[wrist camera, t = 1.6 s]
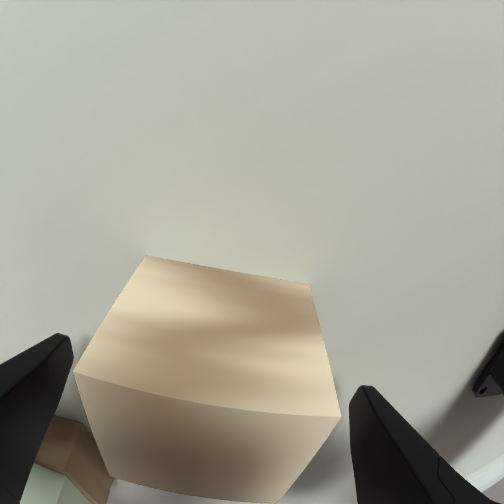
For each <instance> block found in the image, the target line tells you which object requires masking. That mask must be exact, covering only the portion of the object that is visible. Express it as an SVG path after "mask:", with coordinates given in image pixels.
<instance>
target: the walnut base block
mask: <svg viewBox="0 0 504 504" xmlns="http://www.w3.org/2000/svg"><path fill="white" fill-rule="evenodd" d="M34 463H36V464H38V465H40V466H43V467H45V468H48V469H50V470H52V471H55V472H57V473H60V474H63V475H65V476H67V477H68V479H69V480H70V481H71V482H72V483H73V484H74V485H75V486H76V487H77V488H78V490H79V491H80V492H81V493H82V494H83V495H84V496H85V497H86V498H87V499H88V500H89V501H90V502H91V503H92V504H106V502H107V498H108V495H109V491H110V488H111V484H112V481H113V477H111V476H110V475H109V473H108V470H107V468H106V466H105V463H104V461H103V458H102V456H101V454H100V451H99V449H98V446H97V444H96V443H95V441H94V440H93V438H92V437H91V435H90V434H89V432H88V431H87V429H86V427H85V426H84V424H83V423H80V422H76V421H72V420H69V419H65V418H61V417H58V416H54V415H53V417H52V420H51V422H50V424H49V427H48V429H47V431H46V434H45V436H44V439H43V441H42V444H41V446H40V449H39V451H38V454H37V456H36V459H35V461H34Z"/></svg>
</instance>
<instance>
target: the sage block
mask: <svg viewBox="0 0 504 504" xmlns="http://www.w3.org/2000/svg"><path fill="white" fill-rule="evenodd" d="M20 504H92V503H91V502H90V501H89V500H88V499H87V498H86V497H85V496H84V495H83V494H82V493H81V492H80V491H79V490H78V488H77V487H76V486H75V485H74V484H73V483H72V482H71V481H70V480H69V479H68V477H67V476H65V475H63V474H60V473H57V472H55V471H52V470H50V469H48V468H45V467H43V466H40V465H38V464H36V463H34V464H33V467H32V469H31V472H30V475H29V478H28V481H27V483H26V486H25V489H24V492H23V495H22V498H21V501H20Z"/></svg>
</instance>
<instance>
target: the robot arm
mask: <svg viewBox="0 0 504 504" xmlns="http://www.w3.org/2000/svg"><path fill="white" fill-rule="evenodd" d="M73 359H74V355H73V350H72V345H71V341H70V338H69V337H68V336H66V335H63V334H60V333H56V334H54V335H52V336H51V337H49V338H47V339H45V340H43V341H42V342H40V343H38V344H36V345H34V346H33V347H31V348H29V349H27V350H25V351H24V352H22V353H20V354H18V355H16V356H15V357H13V358H11V359H9V360H8V361H6V362H4V363H2V364H0V504H20V501H21V498H22V495H23V492H24V489H25V486H26V483H27V481H28V478H29V475H30V472H31V469H32V467H33V464H34V461H35V459H36V456H37V454H38V451H39V449H40V446H41V444H42V441H43V439H44V436H45V434H46V431H47V429H48V427H49V424H50V422H51V420H52V417H53V415H54V413H55V411H56V408H57V406H58V404H59V401H60V399H61V396H62V393H63V390H64V387H65V384H66V381H67V378H68V375H69V372H70V369H71V366H72V363H73ZM472 392H473V393H474V395H475V397H485V396H492V395H498V394H503V396H504V342H503V344H502V346H501V347H500V349H499V350H498V352H497V353H496V355H495V357H494V358H493V360H492V361H491V363H490V364H489V366H488V367H487V368H486V370H485V371H484V373H483V374H482V376H481V377H480V378H479V380H478V381H477V382H476V384H475V385H474V387H473V388H472ZM349 424H350V448H351V456H352V463H353V470H354V478H355V485H356V493H357V502H358V504H500V503H496V502H494V501H492V500H490V499H489V498H487V497H486V496H485V495H484V494H482V493H481V492H480V491H479V490H477V489H476V488H475V487H474V486H473V485H471V484H470V483H469V482H468V481H466V480H465V479H464V478H463V477H462V476H461V475H460V474H458V473H457V472H456V471H455V470H454V469H453V468H452V467H451V466H450V465H449V464H448V463H447V462H446V461H445V460H444V459H443V458H442V457H441V456H439V454H438V453H437V452H436V451H435V450H434V449H433V448H432V447H431V446H430V445H429V444H428V443H427V442H426V441H425V439H424V438H423V437H422V436H421V435H420V434H419V433H418V432H417V431H416V430H415V429H414V428H413V427H412V426H411V425H410V424H409V423H408V422H407V421H406V420H405V419H404V418H403V417H402V416H401V415H400V414H399V413H398V412H397V411H396V410H395V408H394V407H393V406H392V405H391V404H390V403H389V402H388V401H387V400H386V399H385V398H384V397H383V396H382V395H381V394H380V393H379V392H378V391H377V390H376V389H375V388H374V387H373V386H366V385H362V386H360V387H359V388H358V389H357V391H356V393H355V394H354V396H353V398H352V399H351V401H350V403H349Z"/></svg>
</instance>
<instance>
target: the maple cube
mask: <svg viewBox="0 0 504 504" xmlns="http://www.w3.org/2000/svg"><path fill="white" fill-rule="evenodd" d="M73 373H74V376H75V380H76V384H77V387H78V391H79V394H80V397H81V400H82V404H83V407H84V410H85V413H86V416H87V419H88V422H89V425H90V427H91V430H92V433H93V436H94V438H95V441H96V443H97V446H98V449H99V451H100V454H101V456H102V458H103V461H104V463H105V466H106V468H107V470H108V473H109V475H110V476H111V477H114V478H117V479H121V480H124V481H128V482H132V483H135V484H139V485H143V486H147V487H151V488H156V489H160V490H165V491H170V492H175V493H180V494H186V495H192V496H198V497H205V498H212V499H220V500H229V501H240V502H254V503H277V502H278V501H279V500H280V499H281V497H282V496H283V495H284V494H285V493H286V491H287V490H288V489H289V488H290V487H291V485H292V484H293V483H294V482H295V480H296V479H297V478H298V477H299V475H300V474H301V473H302V472H303V470H304V469H305V468H306V466H307V465H308V464H309V462H310V461H311V460H312V458H313V457H314V456H315V454H316V453H317V452H318V450H319V449H320V447H321V446H322V445H323V443H324V442H325V440H326V439H327V437H328V436H329V435H330V433H331V432H332V430H333V429H334V427H335V426H336V424H337V423H338V421H339V420H340V418H341V412H340V408H339V403H338V399H337V394H336V390H335V386H334V382H333V377H332V373H331V369H330V365H329V361H328V356H327V352H326V348H325V344H324V340H323V336H322V332H321V328H320V325H319V321H318V317H317V313H316V309H315V305H314V302H313V298H312V294H311V290H310V287H309V284H305V283H299V282H293V281H287V280H281V279H275V278H269V277H263V276H257V275H252V274H246V273H240V272H234V271H229V270H223V269H217V268H212V267H206V266H200V265H195V264H189V263H184V262H178V261H173V260H168V259H162V258H157V257H152V256H145V257H144V259H143V260H142V262H141V263H140V265H139V266H138V268H137V269H136V271H135V272H134V274H133V275H132V277H131V278H130V280H129V281H128V283H127V284H126V286H125V287H124V289H123V290H122V292H121V293H120V295H119V296H118V298H117V299H116V301H115V303H114V304H113V306H112V307H111V309H110V310H109V312H108V314H107V315H106V317H105V318H104V320H103V322H102V323H101V325H100V326H99V328H98V330H97V331H96V333H95V335H94V336H93V338H92V340H91V341H90V343H89V345H88V346H87V348H86V350H85V351H84V353H83V355H82V357H81V358H80V360H79V362H78V363H77V365H76V367H75V369H74V370H73Z"/></svg>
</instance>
